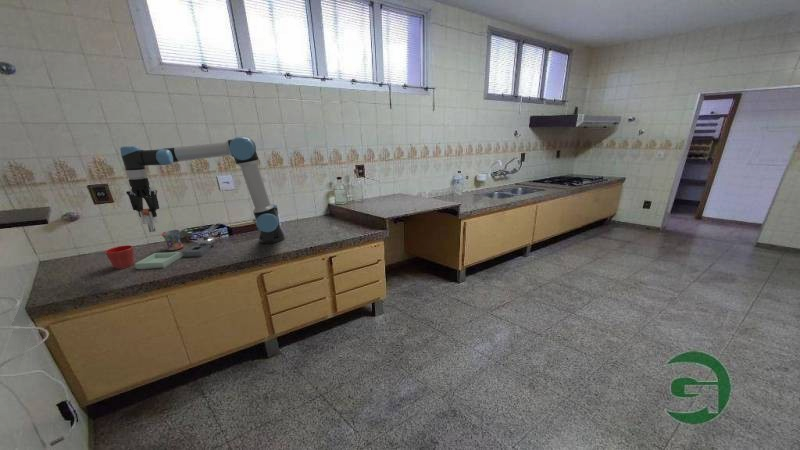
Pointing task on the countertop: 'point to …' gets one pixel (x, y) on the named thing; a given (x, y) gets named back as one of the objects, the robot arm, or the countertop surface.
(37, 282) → the countertop surface
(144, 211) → the orange capped clear bottle
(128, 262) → the flower pot
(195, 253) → the tensioner block
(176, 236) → the mug
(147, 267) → the tray
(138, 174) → the robot arm
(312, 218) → the countertop surface
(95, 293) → the countertop surface
